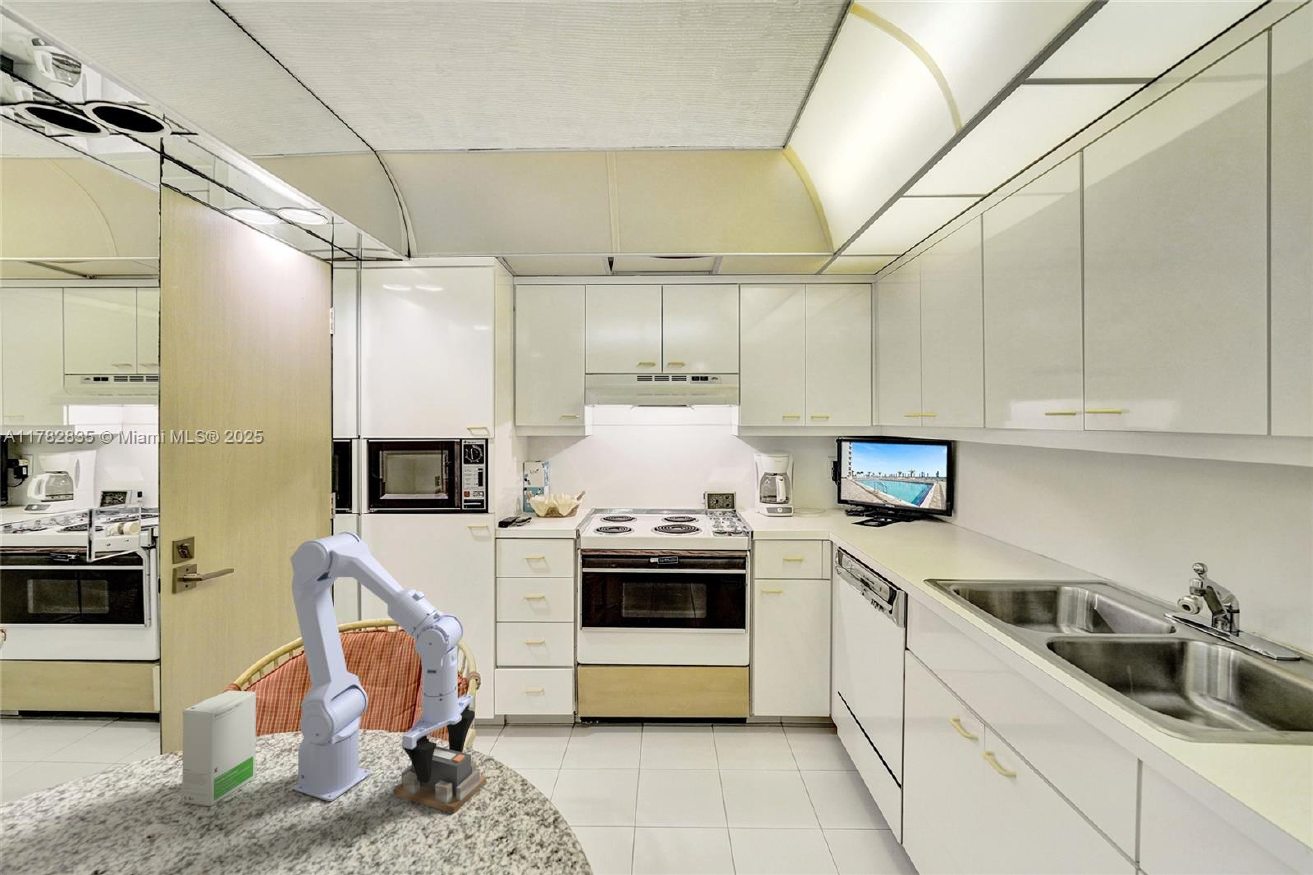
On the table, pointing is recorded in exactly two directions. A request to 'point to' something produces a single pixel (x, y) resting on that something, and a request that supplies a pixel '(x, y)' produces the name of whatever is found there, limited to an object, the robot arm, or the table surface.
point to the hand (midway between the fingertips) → (440, 767)
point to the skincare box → (218, 747)
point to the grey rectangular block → (448, 768)
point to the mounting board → (439, 790)
